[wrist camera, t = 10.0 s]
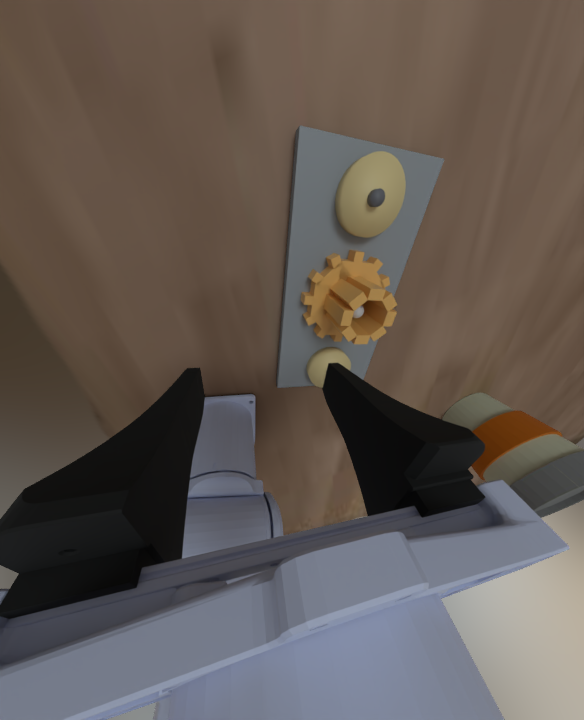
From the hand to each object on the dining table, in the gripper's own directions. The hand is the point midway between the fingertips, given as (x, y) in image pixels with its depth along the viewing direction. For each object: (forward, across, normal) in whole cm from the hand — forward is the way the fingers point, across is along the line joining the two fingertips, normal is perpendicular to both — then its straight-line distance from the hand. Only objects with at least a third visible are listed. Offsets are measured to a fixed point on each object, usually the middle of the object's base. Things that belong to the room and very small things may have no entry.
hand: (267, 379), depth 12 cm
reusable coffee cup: (+10, -38, +18) cm, 43 cm away
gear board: (+10, -8, -2) cm, 13 cm away
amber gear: (+9, -8, -2) cm, 12 cm away
